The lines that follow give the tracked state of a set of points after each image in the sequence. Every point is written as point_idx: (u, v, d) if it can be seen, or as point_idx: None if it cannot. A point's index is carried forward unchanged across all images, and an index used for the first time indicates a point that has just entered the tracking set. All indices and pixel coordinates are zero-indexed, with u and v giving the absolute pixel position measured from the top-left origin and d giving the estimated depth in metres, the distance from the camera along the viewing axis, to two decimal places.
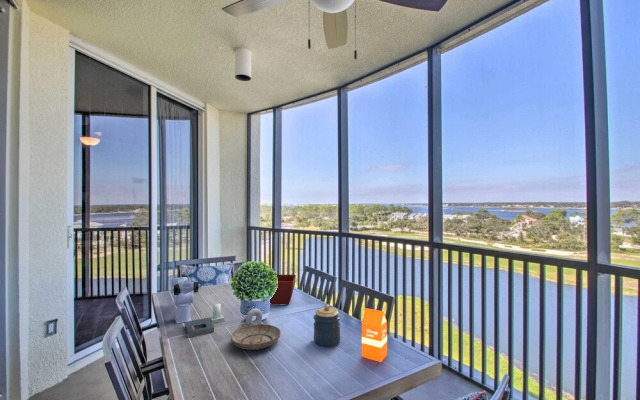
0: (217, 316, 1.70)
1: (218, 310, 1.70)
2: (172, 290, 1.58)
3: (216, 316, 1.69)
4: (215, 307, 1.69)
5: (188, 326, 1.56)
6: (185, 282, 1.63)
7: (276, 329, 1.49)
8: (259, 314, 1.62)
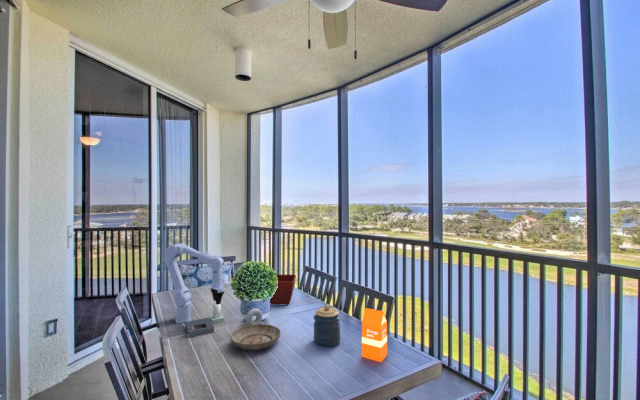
0: (217, 316, 1.70)
1: (218, 310, 1.70)
2: None
3: (216, 316, 1.69)
4: (215, 307, 1.69)
5: (188, 326, 1.56)
6: None
7: (276, 329, 1.49)
8: (259, 314, 1.62)
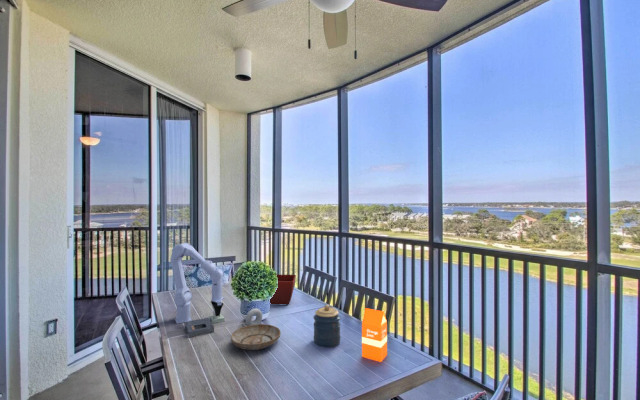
0: (217, 316, 1.70)
1: None
2: None
3: (216, 316, 1.69)
4: None
5: (188, 326, 1.56)
6: None
7: (276, 329, 1.49)
8: (259, 314, 1.62)
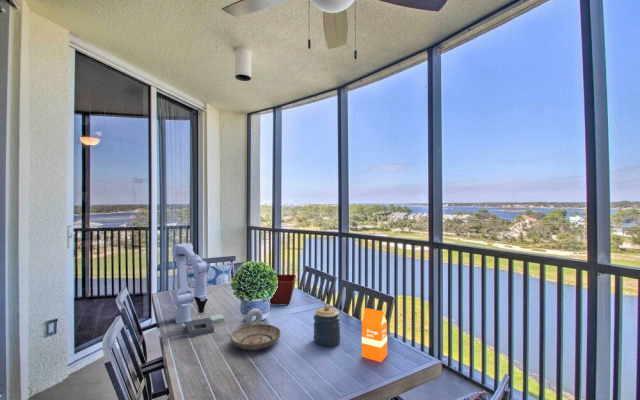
0: (201, 313, 1.55)
1: None
2: None
3: (200, 313, 1.55)
4: None
5: (188, 326, 1.56)
6: None
7: (276, 329, 1.49)
8: (259, 314, 1.62)
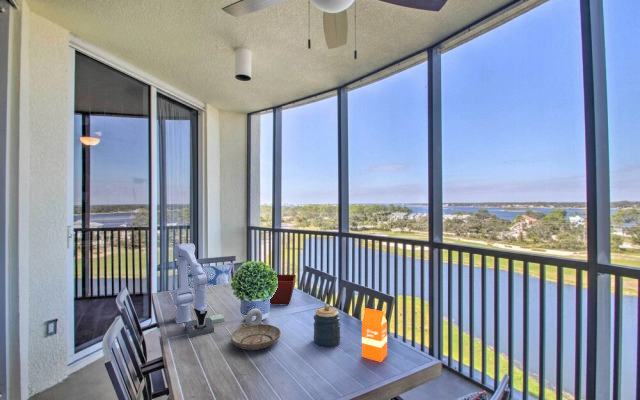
0: (201, 325, 1.55)
1: None
2: None
3: (200, 325, 1.55)
4: None
5: (188, 326, 1.56)
6: None
7: (276, 329, 1.49)
8: (259, 314, 1.62)
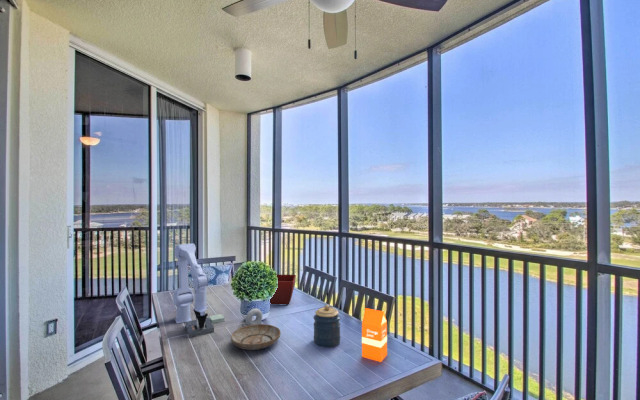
0: None
1: None
2: None
3: None
4: None
5: (188, 326, 1.56)
6: None
7: (276, 329, 1.49)
8: (259, 314, 1.62)
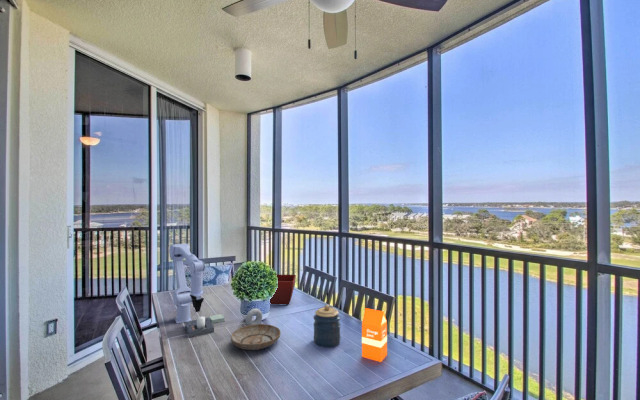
0: None
1: (202, 324, 1.55)
2: None
3: None
4: (199, 320, 1.55)
5: (188, 326, 1.56)
6: None
7: (276, 329, 1.49)
8: (259, 314, 1.62)
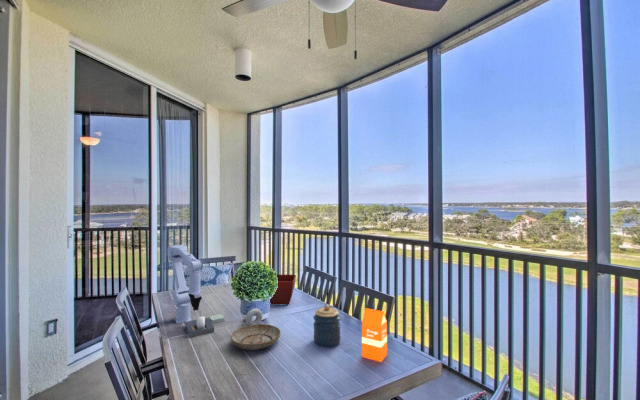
0: None
1: (202, 324, 1.55)
2: None
3: None
4: (199, 320, 1.55)
5: (188, 326, 1.56)
6: None
7: (276, 329, 1.49)
8: (259, 314, 1.62)
